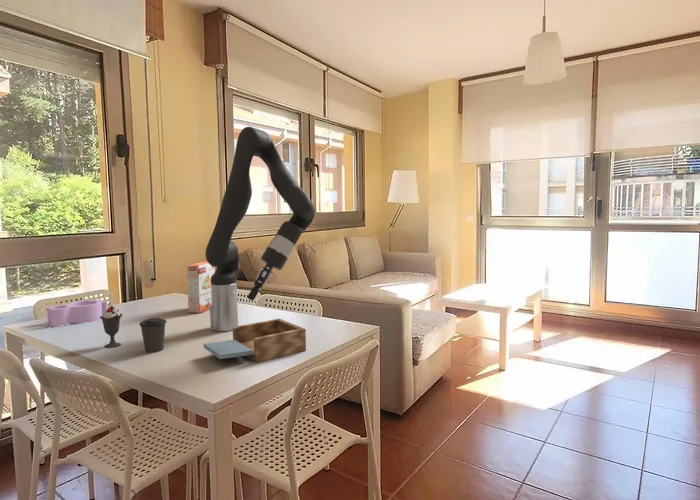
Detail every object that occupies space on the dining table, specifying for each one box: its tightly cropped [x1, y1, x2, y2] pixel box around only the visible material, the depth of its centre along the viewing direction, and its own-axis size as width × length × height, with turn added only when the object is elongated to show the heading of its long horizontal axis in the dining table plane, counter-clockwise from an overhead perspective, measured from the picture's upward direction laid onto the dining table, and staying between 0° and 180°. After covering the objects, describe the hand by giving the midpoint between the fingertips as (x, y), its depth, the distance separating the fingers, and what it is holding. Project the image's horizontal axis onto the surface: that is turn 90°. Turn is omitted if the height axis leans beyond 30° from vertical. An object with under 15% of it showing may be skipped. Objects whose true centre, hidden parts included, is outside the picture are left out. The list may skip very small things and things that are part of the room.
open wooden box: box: [232, 318, 307, 363], centre depth 140 cm, size 17×17×7 cm
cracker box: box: [186, 261, 216, 314], centre depth 195 cm, size 14×6×21 cm, turn 168°
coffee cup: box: [138, 317, 167, 354], centre depth 140 cm, size 8×8×10 cm
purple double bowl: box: [46, 298, 108, 327], centre depth 178 cm, size 20×12×7 cm, turn 139°
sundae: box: [99, 302, 123, 349], centre depth 145 cm, size 7×7×15 cm
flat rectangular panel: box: [203, 339, 253, 360], centre depth 132 cm, size 2×13×10 cm
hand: (249, 299), depth 137 cm, fingers closed
